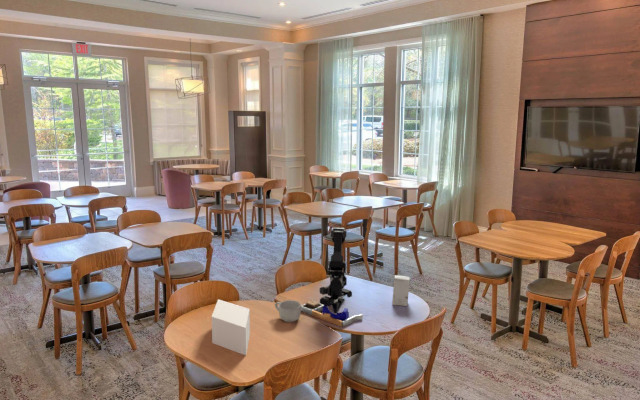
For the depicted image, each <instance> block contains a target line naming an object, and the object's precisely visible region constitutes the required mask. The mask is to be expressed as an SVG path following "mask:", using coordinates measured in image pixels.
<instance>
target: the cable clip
mask: <svg viewBox="0 0 640 400" xmlns="http://www.w3.org/2000/svg"><path fill="white" fill-rule="evenodd" d="M321 312H322V314H324V313H325V312H326V313H328V314H331V317H333V318H335V319H338V320H341V321H344V320H346V319H348V318H350V312H349V310H348V307H344V308H343V310H342V311H341V312H338V313H337V314H335V313H334V312H332V311H330V308H329V306H326V305H324V306H323V308H322V311H321Z"/></svg>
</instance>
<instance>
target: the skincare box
mask: <svg viewBox="0 0 640 400" xmlns="http://www.w3.org/2000/svg"><path fill="white" fill-rule="evenodd" d="M393 278H394V279H393V290H392V305H393V306H403V307H408V303H409V292H410V280H411V279H410V278H411V277H410V276H408V275H407V276H406V275H398V274H397V275H396V274H395V275H394V277H393Z"/></svg>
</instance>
